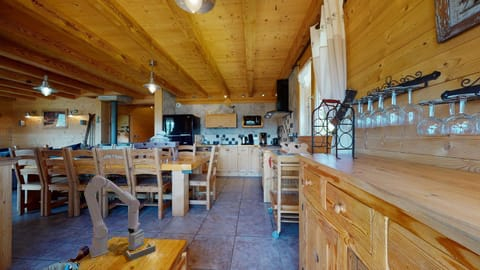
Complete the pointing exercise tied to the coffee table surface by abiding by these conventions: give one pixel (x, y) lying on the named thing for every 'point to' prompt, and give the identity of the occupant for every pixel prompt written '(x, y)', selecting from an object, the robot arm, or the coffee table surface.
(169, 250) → the coffee table surface
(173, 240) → the coffee table surface
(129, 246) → the medicine box
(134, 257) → the tray
